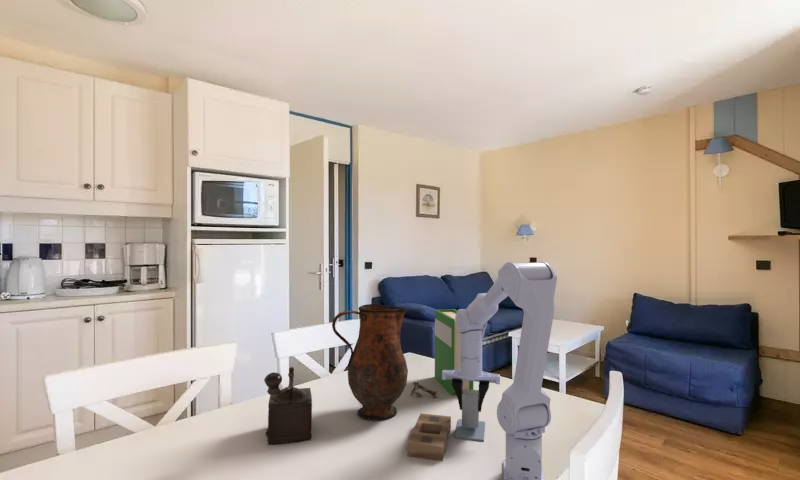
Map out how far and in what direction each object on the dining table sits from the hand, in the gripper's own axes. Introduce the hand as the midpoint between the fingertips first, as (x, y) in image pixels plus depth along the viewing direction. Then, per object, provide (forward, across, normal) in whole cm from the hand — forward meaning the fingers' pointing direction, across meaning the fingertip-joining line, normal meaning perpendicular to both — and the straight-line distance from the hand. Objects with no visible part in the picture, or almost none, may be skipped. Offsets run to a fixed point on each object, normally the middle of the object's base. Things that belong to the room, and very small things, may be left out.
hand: (470, 409), depth 103 cm
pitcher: (+6, +28, -3) cm, 29 cm away
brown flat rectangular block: (+5, +9, +8) cm, 13 cm away
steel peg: (+4, 0, 0) cm, 4 cm away
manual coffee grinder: (+6, +43, +15) cm, 46 cm away
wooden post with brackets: (+6, +16, -19) cm, 25 cm away
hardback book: (+6, +8, -32) cm, 33 cm away
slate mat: (+5, 0, 0) cm, 5 cm away
